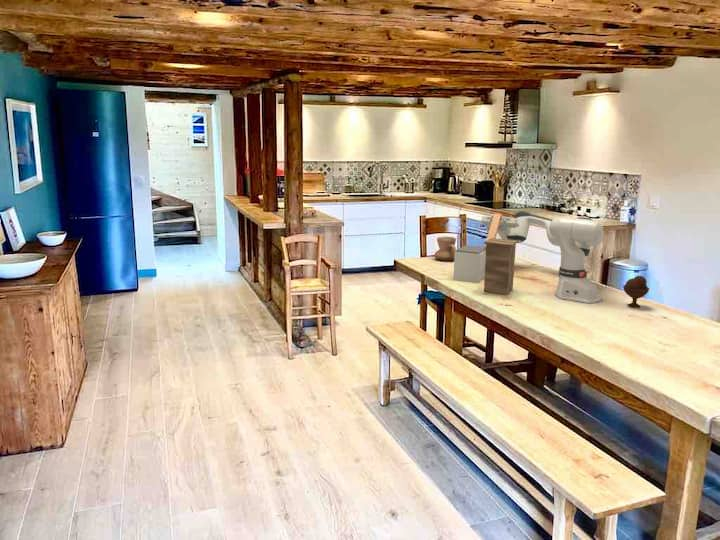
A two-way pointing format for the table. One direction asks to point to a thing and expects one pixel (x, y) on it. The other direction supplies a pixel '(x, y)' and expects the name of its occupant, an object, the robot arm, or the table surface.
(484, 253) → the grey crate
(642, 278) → the ice cream bowl
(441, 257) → the ceramic jug
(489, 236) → the terracotta block
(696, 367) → the table surface
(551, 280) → the table surface
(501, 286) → the walnut stand
